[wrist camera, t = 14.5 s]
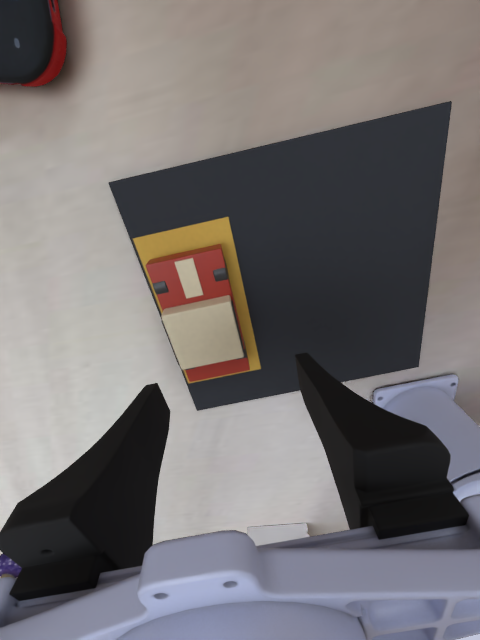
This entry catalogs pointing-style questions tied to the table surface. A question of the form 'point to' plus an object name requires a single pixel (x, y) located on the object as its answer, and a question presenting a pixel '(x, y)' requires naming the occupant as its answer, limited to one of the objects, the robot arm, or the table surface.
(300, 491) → the table surface
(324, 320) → the play mat
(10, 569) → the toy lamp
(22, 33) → the game console
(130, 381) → the table surface
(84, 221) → the table surface
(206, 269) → the car
